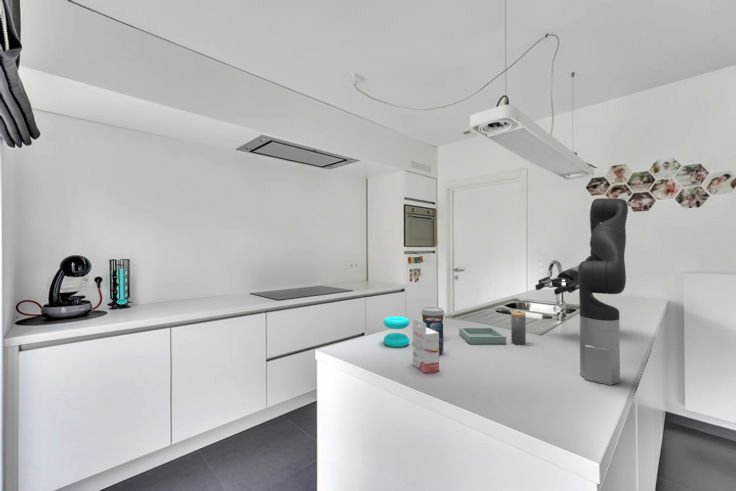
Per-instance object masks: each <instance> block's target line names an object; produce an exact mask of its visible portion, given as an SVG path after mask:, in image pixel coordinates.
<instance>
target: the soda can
mask: <svg viewBox="0 0 736 491" xmlns="http://www.w3.org/2000/svg"><path fill="white" fill-rule="evenodd" d="M424 323H426V327H427V328H429V329H431V330H434V331H436V332H439V356H440V355H441V354H442V353H443V351H444V322H443V323H442V321H441V319H440V318H436V317H428V318H425V321H424Z"/></svg>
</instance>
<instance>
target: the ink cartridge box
mask: <svg viewBox="0 0 736 491" xmlns="http://www.w3.org/2000/svg"><path fill="white" fill-rule="evenodd" d="M419 325H420V326H419ZM412 364H413V365H414V366H415V367H416V368H418V369H419V370H420V371H422V372H424V373H425V374H431V373H436V372H439V371H440V355H439V332H436V331H434V330H431V329H429V328H427V327H426V323H423V321H421V320H419V319H416V318H413V321H412Z"/></svg>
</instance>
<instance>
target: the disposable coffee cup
mask: <svg viewBox="0 0 736 491" xmlns="http://www.w3.org/2000/svg"><path fill="white" fill-rule="evenodd" d="M420 313H421V316H422V322H423V323H424V321H425V318H428V317H436V318H440V319H441V321H442V323H443V324H444V315H445V313H446V312H445V311H444V309H443V308H442V307H437V306H435V307H434V306H432V307H431V306H430V307H429V306H427V307H422V309H421V311H420Z"/></svg>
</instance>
